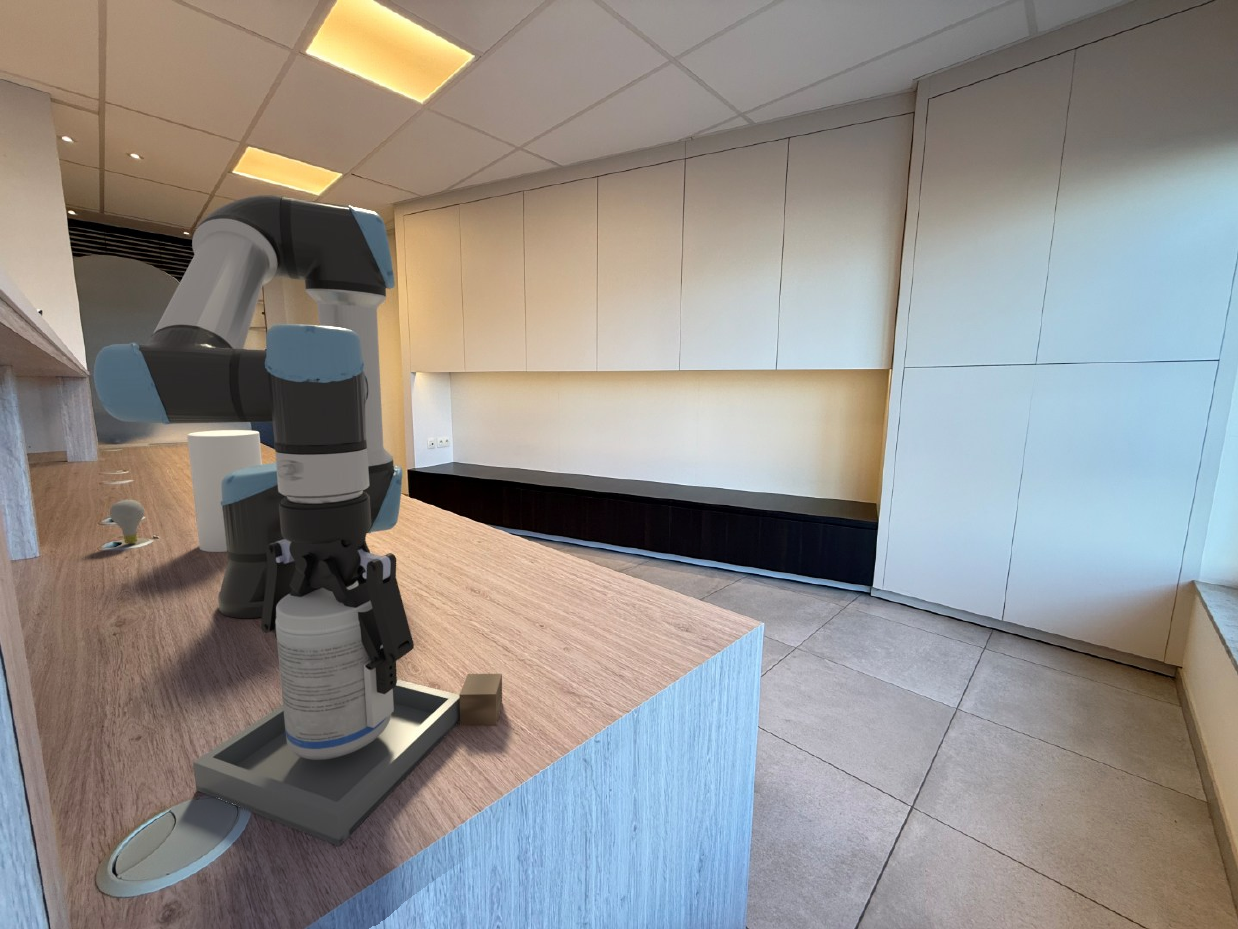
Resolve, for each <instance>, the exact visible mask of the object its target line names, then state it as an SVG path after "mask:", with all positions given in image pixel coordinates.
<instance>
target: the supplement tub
mask: <svg viewBox="0 0 1238 929" xmlns="http://www.w3.org/2000/svg"><path fill="white" fill-rule="evenodd" d="M357 586H358V581H356V582H355V583H354V584H353V585H351V586H349V587H347V589H348V590H350V589H353V588H355V587H357ZM371 609H372V605H371V601H369V602H367V603H365V604H363V605H361V606H359V607H357V608H353V607H348V606H344V604H343V603H341V602H338V601H337V600H336V598H335V596H334V594H333V592H332V591H328V590H326V589H324V588H320V589H318V590H316V591H313V592H311V593H309V594H306V595H304V596H302V597H297V596H291V595H290V594H288V595H287V596H285V597H284V598H282V599H281V600H280V601H279V602H278V604H277V606H276V615H275V616H277V617H276V621H275V622H276V635H277V640H276V644H277V653H278V666H279V676H280V686H281V696H282V705H283V708H284V720H285V731H286V739H287V744H288V746H289V748H290V749H291V750H292V751H293V752H294V753H295V754H296V755H298V756H300V757H303V758H306V759H312V760H323V759H331V758H336V757H340V756H343V755H347V754H349V753H352V752H354V751H356V750H359V749H361V748H362V747H364V746H366V745H368V744H369V743H370V742H372V741H373V740H375V739H376V738H377V737H378V736H379V735H380V734H381V733H382V732H383V731H384V729H385V728H386V727H387V725H388V723H389V721H390V718H391V714H390V715H388V716H387V717H386V718H385V719H384V720H382V721H381V722H380V723H379V724H378V725H376V726H375V727H374V728H372V727H368V726H367V714H366V698H365V681H364V664H365V663H367V662H368V661H370V658H369V656H368V654H367V652H366V650H365V648H364V646H363V644H362V641H361V630H360V626H359V624H360V623H359V620H358V612H366V611H369V610H371ZM381 648H383V645H381V646H380V649H381Z"/></svg>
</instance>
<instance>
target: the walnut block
mask: <svg viewBox="0 0 1238 929" xmlns="http://www.w3.org/2000/svg"><path fill="white" fill-rule="evenodd" d="M458 695H459V698H460V722H459V726H460V727H496V726H497V724H498V721H499V717H500V714H501V709H502V707H503V706H502V705H503V673H467V675H466V677H465V680H464V683H463V685H462V687H461V690H460V692H459V694H458Z"/></svg>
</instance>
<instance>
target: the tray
mask: <svg viewBox="0 0 1238 929" xmlns="http://www.w3.org/2000/svg"><path fill="white" fill-rule="evenodd" d="M393 705H394V711H393V712H392V713H391V718H390V721H389V723H388V725H387V727H386V728H385V729H384V731H383V732H382V733H381V734H380V735H379V736H378V737H377V738H376V739H375V740H373V741H372V742H370V743H369V744H368V745H366V746H364V747H362V748H361V749H359V750H356V751H354V752H352V753H349V754H347V755H343V756H340V757H336V758H331V759H323V760H312V759H306V758H303V757H300V756H298V755H296V754H295V753H294V752H293V751H292V750H291V749H290V748H289V746H288V744H287V739H286V731H285V720H284V708H283V704H282V705H280V706H278V707H277V708H276V709H275V708H274V710H272V711H271V712H269V713H268V714H266V715H265V716H263V717H261V718H260V719H258V720H256V721H255V722H253V723H252V724H250V725H249V726H247V727H245V728H244V729H242V730H241V731H239V732H238V733H236V734H235V735H233V736H231V737H230V738H228V739H227V740H225V741H223V742H222V743H221V744H219V745H217V746H216V747H214V748H212V749H211V750H210V751H208V752H207V753H205V754H202V755H201V756H200V757H198V758H197V759H195V760H193V761H192V765H193V773H194V781H195V782H194V784H195V789H196V791H197V792H199V793H202V794H205V795H207V796H209V797H212V798H214V797H217V798H220V799H222V800H224V801H227V802H229V803H233V804H236V805H237V806H240V807H242V808H244V809H243V810H245V809H246V810H245V811H247V810H248V812H250V813H253V814H256V815H258V816H260V817H263V818H266V819H268V820H271V821H274V822H276V823H279V824H281V825H284V826H286V827H288V828H291V829H294V830H297V831H299V832H302V833H304V834H307V835H309V836H312V837H315V838H317V839H320V840H323V841H324V842H327V843H330V844H333V845H335V846H337V847H340V846H342V844H343V843H344V842H346V840H347V839H348V838H349V837H350V836H352V834H353V833H354V832H355V831H357V829H358V828H359V827H360V826H361V825H362V824H363V823H364V821H366V820H367V818H368V817H369V816H370V815H372V813H373V812H374V811H375V810H376V809H377V808H378V807H379V806H380V805H381V804H382V803H383V802H384V801H385V800H386V799H387V798H388V797H389V796H390V794H392V793H393V792H394V790H396V788H398V787H399V785H400V784H401V783H402V782H404V780H406V778H407V777H408V776H409V775H410V774H411V773H412V772H413V771H414V770H415V769H416V768H417V767H418V766H419V765H420V764H421V763H422V762H423V761H424V759H425V758H427V756H428V755H429V754H430V753H431V752H432V751H433V750H435V748H436V747H437V746H439V744H440V743H441V742H442V741H443V740H444V739H445V738H446V737H447V736H448V734H449V735H450V733H451V732H452V731H453V729H455V728H456V726H458V724H460V698H459V694H457V693H453V692H450V691H446V690H441V689H437V688H433V687H429V686H425V685H422V684H418V683H414V682H410V681H405V680H401V679H398V678H397V683H396V686H395V687H394V688H393ZM217 798H216V799H217ZM222 800H221V801H222ZM224 801H223V802H224ZM227 802H226V803H227ZM229 803H228V804H229ZM237 806H236V807H237ZM240 807H239V808H240ZM242 808H241V809H242Z"/></svg>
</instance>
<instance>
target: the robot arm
mask: <svg viewBox="0 0 1238 929" xmlns="http://www.w3.org/2000/svg"><path fill="white" fill-rule="evenodd" d="M191 245H192V246H191V247H192V251H193V254H194V255H193V258H192V259H191V261H190V262H189V264H188V267H187V268H186V271H185V273H184V274H183V276H182V279H181V280H180V282H179V284H178V286H177V287H176V289H175V291H174V293H173V295H172V297H171V298H170V300H169V303H168V305H167V306H166V309H164V312H163V314H162V316H161V318H160V320H159V322H158V323H157V325H156V328H155V329H154V330H153V333H152V334H151V336H150V338H149V339H148V341H147V343H146V344H143V343H139V342H130V343H114V344H110V345H108V346H106V345H105V346H104V347H102V348H101V349H100V350H99V352H98V354H97V355H96V358H95V361H94V365H93V366H94V368H93V381H94V386H95V390H96V393H97V397H98V399H99V401H100V402H101V404H102V407H103V408H104V410H105V411H106V412H107V413H108V414H109V415H110V416H112V417H113V418H114V419H117V420H119V421H122V422H127V423H128V422H130V423H149V424H150V423H151V424H152V423H154V424H155V423H156V424H163V425H171V424H172V425H173V424H175V425H176V424H215V423H217V424H218V423H220V424H221V423H222V424H223V423H272V429H273V440H274V443H273V444H274V451H275V462H269V463H264V464H263V463H262V465H257V466H252V467H248V468H244V469H240V470H237V471H234V472H232V473H230V474H228V475H227V476H225V477H224V479H223V480H222V484H221V489H222V501H221V505H222V509H223V518H224V527H225V536H226V545H227V552H226V553H227V554H226V555H227V565H226V568H225V572H224V575H223V579H222V583H221V586H220V591H219V593H218V595H217V596H218V597H217V599H218V609H219V612H220V613H221V614H222V615H224V616H227V617H231V618H236V619H237V618H239V619H240V618H241V619H253V618H256V619H257V618H261V623H260V629H261V630H262V632H263V633H266V634H268V633H270V632H271V633H273V635H274V637H275V640H276V641H277V635H276V622H275V621H276V617H277V616H276V606H277V604H278V602H279V601H280V600H281V599H282V598H284V597H285V596H287V595H288V594H290V595H291V596H297V597H302V596H304V595H306V594H309V593H311V592H313V591H316V590H318V589H320V588H324V589H326V590H328V591H332V592H333V594H334V596H335V598H336V600H337V601H338V602H341V603H343V604H344V606H348V607H353V608H357V607H359V606H361V605H363V604H365V603H367V602H369V601H371V605H372V609H371V610H369V611H366V612H358V620H359V623H360V624H359V626H360V630H361V641H362V644H363V646H364V648H365V650H366V652H367V654H368V656H369V658H370V661H368V662H367V663H365V664H364V681H365V698H366V714H367V726H368V727H372V728H374V727H375V726H376V725H378V724H379V723H380V722H381V721H382V720H384V719H385V718H386V717H387V716H388V715H390V714H391V713H392V712H393V711H394V705H393V688H394V687H395V686H396V683H397V679H398V677H397V674H398V673H397V661H398V660H400V659H402V658H403V657H404V656H406V655H407V654H408V653H409V652H411V651H413V650H414V647H415V644H414V641H413V636H412V632H411V629H410V625H409V621H408V617H407V614H406V611H405V607H404V602H403V599H402V594H401V590H400V588H399V587H400V586H399V583H398V580H397V557H396V556H395V554H394V553H391V552H390V553H389V552H388V553H387V554H384V555H380V554H375V553H371V551H370V549H369V546H368V544H367V541H366V537H367V534H372V533H375V532H383V531H389V530H392V529H394V527H395V526H396V525H397V523H398V520H399V516H400V507H401V498H402V489H403V488H402V486H403V485H402V483H403V468H402V466H398V465H396V464H394V455H392V454H391V453H390V452H388V451H387V450H386V448H385V447H384V435H383V434H384V432H383V431H384V430H383V429H384V428H383V412H382V410H383V409H382V393H381V391H382V388H381V371H380V351H379V329H378V328H379V327H378V325H379V324H378V307H380V306H381V305H382V304H383V303H384V302H385V301H386V300H387V292H386V290H388V289H389V290H390V289H394V287H395V286H396V284H395V283H396V282H395V277H394V271H393V262H392V256H391V250H390V244H389V238H388V234H387V229H386V225H385V222H384V220H383V218H382V217H381V215H380V214H378V213H376V211H373V210H368V209H364V208H359V207H353V206H352V205H343V204H341V205H340V204H335V203H330V202H328V203H327V202H319V201H312V200H305V199H298V198H291V197H284V196H279V195H271V194H270V195H269V194H267V195H265V194H264V195H262V194H261V195H254V196H248V197H244V198H241V199H237V200H234V201H232V202H229V203H227V204H224V205H222V206H220V207H218V208H217V209H215V210H214V211H212V212H210V213H209V214H208V215H207V216H206V217H204V218H203V219H202V220H201V222H200V223H199V225H198V226H197V228H196V230H195V231H194V233H193V235H192V243H191ZM273 278H283V279H284V278H287V279H291V280H292V279H293V280H301V281H302V280H303V281H304V285H305V286H304V287H305V293H306V294H308V296H309V297H311V299H313V300H314V302H316V304H317V310H318V311H317V313H318V325H315V324H298V323H297V324H292V323H290V324H288V323H286V324H285V323H283V324H275V325H273V326H271V327H269V329H268V330H267V331H266V333H265V334H266V335H265V344H266V346H265V348H266V350H265V349H246V348H245V344H246V340H247V338H248V334H249V331H250V328H251V326H252V325H251V324H252V321H253V318H254V314H255V312H256V308H257V305H258V302H259V299H260V295H261V292H262V290H263V287H264V285H266V284H268V283H270V281H272V279H273ZM356 581H358V586H357V587H355V588H353V589H350V590H348V589H347V587H349V586H351V585H353V584H354V583H355V582H356ZM381 645H383V648H381V649H380V646H381Z"/></svg>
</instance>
